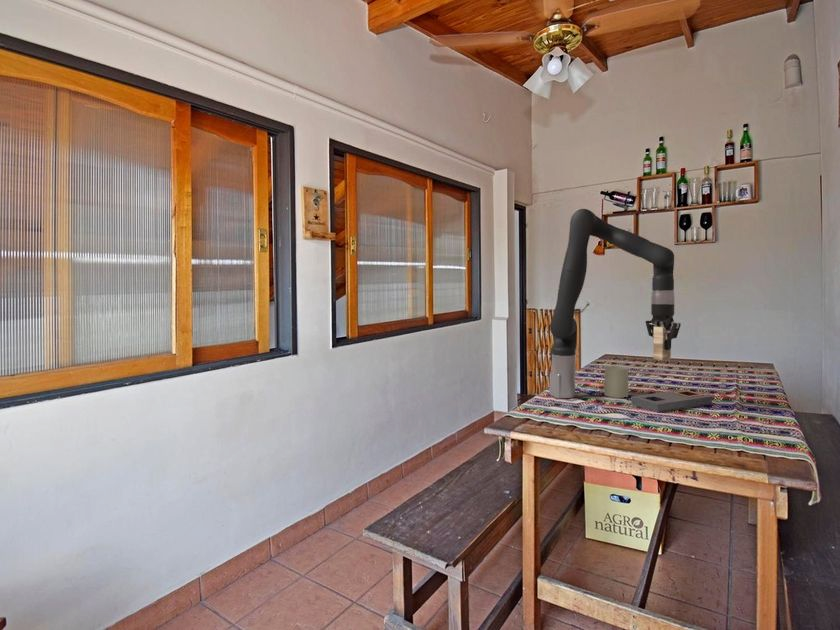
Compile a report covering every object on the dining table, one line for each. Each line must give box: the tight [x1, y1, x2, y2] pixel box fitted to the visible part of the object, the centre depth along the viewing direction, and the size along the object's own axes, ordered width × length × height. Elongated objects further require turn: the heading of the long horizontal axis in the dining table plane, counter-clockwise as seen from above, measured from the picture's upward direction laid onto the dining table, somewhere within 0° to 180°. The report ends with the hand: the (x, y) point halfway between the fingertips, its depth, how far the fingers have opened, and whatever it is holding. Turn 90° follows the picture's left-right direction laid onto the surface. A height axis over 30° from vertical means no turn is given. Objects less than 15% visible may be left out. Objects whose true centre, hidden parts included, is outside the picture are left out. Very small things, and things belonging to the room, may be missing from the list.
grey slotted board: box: [630, 388, 713, 414], centre depth 174 cm, size 27×12×3 cm, turn 110°
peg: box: [652, 327, 672, 361], centre depth 170 cm, size 4×4×12 cm
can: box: [603, 365, 630, 399], centre depth 188 cm, size 9×9×12 cm
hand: (662, 348), depth 170 cm, fingers closed on peg, 4 cm apart
